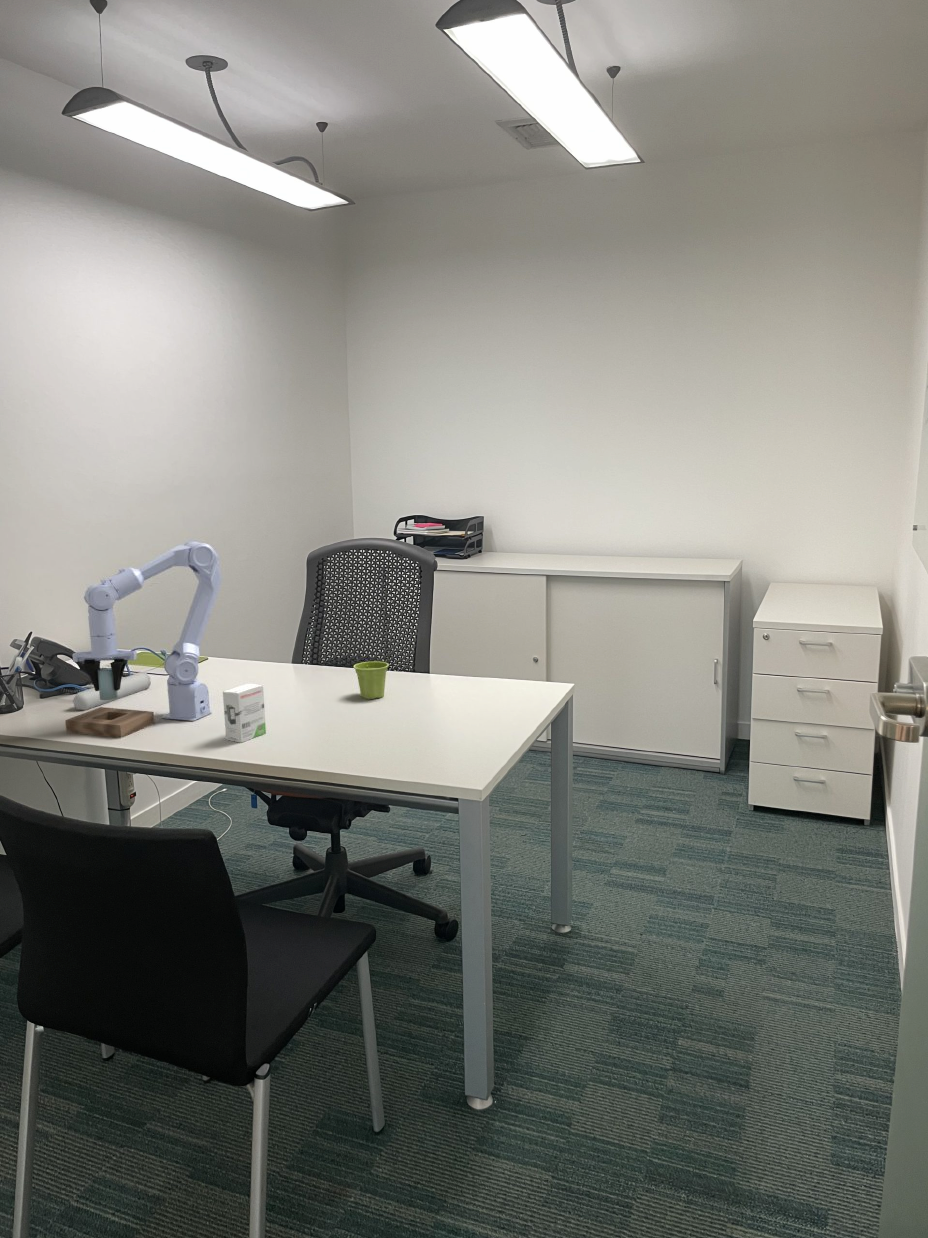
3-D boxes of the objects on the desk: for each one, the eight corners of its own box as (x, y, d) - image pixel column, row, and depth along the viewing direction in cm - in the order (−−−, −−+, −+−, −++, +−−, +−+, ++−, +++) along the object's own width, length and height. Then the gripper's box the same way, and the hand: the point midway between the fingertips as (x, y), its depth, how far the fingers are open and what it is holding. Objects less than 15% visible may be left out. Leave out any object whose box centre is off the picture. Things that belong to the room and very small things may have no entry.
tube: (86, 698, 237) (152, 675, 260) (70, 690, 238) (137, 668, 261) (82, 716, 238) (149, 692, 261) (67, 708, 240) (134, 685, 263)
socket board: (154, 723, 226) (153, 711, 226) (121, 737, 215) (120, 725, 215) (101, 718, 232) (100, 707, 231) (66, 732, 220) (65, 720, 220)
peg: (119, 695, 224) (117, 667, 223) (114, 699, 220) (112, 671, 219) (102, 696, 224) (100, 668, 223) (97, 700, 220) (95, 671, 219)
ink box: (251, 730, 219) (248, 682, 217) (267, 733, 217) (264, 684, 214) (225, 740, 212) (221, 690, 210) (240, 743, 209) (237, 693, 207)
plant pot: (349, 700, 244) (348, 668, 243) (361, 691, 253) (360, 660, 252) (383, 702, 242) (382, 669, 241) (394, 692, 251) (393, 661, 250)
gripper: (139, 630, 224) (143, 685, 226) (78, 632, 223) (83, 686, 226) (129, 636, 217) (134, 692, 219) (67, 637, 216) (72, 693, 219)
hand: (107, 689), depth 222 cm, fingers closed on peg, 4 cm apart
